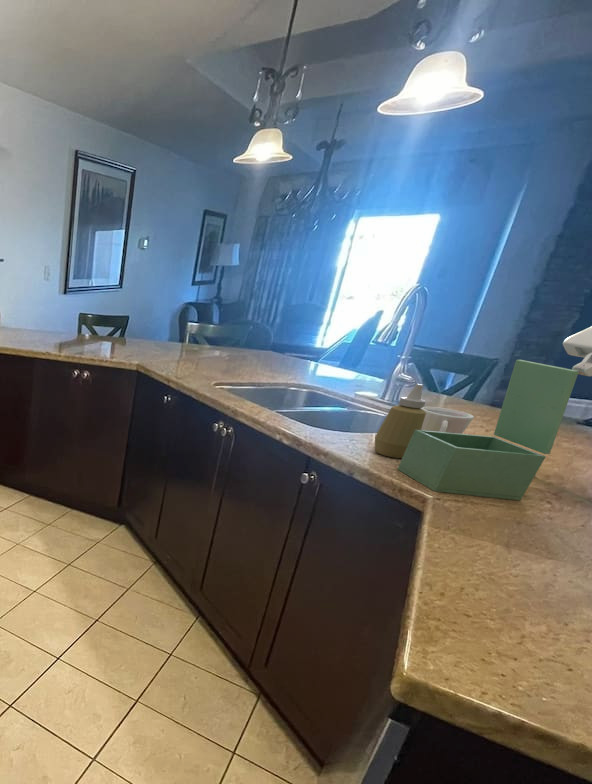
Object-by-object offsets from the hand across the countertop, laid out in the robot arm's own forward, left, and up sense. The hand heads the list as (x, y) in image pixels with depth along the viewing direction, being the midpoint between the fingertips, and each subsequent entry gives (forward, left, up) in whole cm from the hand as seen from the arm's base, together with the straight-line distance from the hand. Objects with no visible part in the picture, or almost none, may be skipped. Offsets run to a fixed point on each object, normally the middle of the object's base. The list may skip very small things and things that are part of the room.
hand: (579, 372), depth 95 cm
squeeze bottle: (+14, -18, -26) cm, 34 cm away
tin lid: (+5, 0, -7) cm, 9 cm away
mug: (0, -26, -26) cm, 36 cm away
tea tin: (+11, 0, -25) cm, 28 cm away
